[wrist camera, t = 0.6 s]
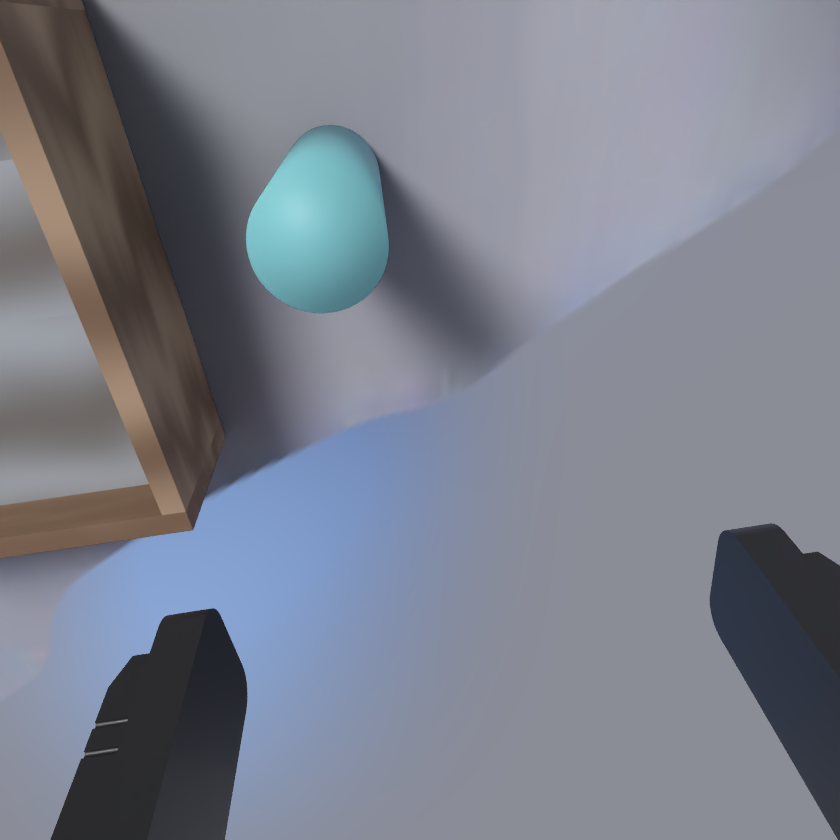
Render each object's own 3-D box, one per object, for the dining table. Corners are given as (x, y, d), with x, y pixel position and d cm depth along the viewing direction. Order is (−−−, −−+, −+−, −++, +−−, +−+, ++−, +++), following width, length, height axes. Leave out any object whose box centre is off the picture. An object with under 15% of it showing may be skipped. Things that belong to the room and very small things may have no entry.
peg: (276, 132, 27) (228, 183, 17) (371, 118, 27) (377, 161, 17) (297, 229, 29) (265, 321, 19) (386, 216, 29) (397, 302, 19)
